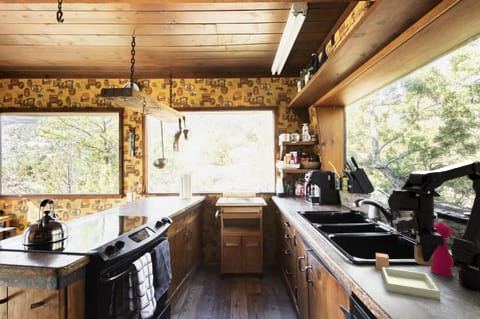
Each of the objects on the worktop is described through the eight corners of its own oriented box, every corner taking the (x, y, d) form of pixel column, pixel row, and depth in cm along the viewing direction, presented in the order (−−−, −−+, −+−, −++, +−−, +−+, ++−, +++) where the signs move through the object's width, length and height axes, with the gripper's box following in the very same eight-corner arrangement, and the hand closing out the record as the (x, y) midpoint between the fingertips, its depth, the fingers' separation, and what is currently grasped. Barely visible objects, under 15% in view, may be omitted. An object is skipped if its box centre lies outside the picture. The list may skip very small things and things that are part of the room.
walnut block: (429, 260, 82) (428, 245, 82) (433, 265, 78) (432, 249, 78) (414, 259, 84) (414, 244, 84) (417, 263, 80) (417, 247, 80)
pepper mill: (431, 274, 93) (430, 220, 93) (427, 267, 99) (426, 216, 100) (456, 278, 89) (455, 222, 90) (450, 270, 96) (450, 218, 96)
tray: (426, 280, 88) (426, 273, 88) (440, 300, 75) (440, 291, 75) (382, 274, 93) (382, 267, 93) (388, 291, 80) (387, 283, 80)
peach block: (387, 267, 99) (387, 254, 99) (388, 271, 96) (388, 257, 96) (375, 265, 101) (375, 253, 101) (377, 269, 97) (376, 256, 97)
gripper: (389, 204, 93) (390, 247, 93) (399, 214, 76) (400, 266, 75) (425, 206, 89) (426, 251, 88) (445, 217, 71) (446, 272, 71)
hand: (423, 259), depth 81 cm, fingers closed on walnut block, 4 cm apart
